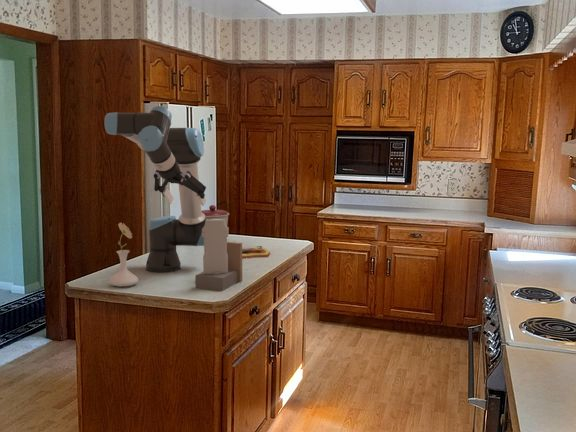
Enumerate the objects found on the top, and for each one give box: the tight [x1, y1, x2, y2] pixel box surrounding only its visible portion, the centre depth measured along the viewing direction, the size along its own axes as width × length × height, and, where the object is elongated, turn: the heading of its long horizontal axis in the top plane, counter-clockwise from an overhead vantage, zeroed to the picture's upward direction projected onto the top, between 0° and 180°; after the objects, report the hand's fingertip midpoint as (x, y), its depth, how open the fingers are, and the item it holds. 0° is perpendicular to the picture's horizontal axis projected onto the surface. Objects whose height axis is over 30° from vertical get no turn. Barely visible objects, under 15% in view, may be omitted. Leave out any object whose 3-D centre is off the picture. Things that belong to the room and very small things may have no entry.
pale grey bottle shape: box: [202, 219, 230, 274], centre depth 237 cm, size 11×4×22 cm, turn 107°
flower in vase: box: [108, 222, 139, 287], centre depth 238 cm, size 13×11×25 cm
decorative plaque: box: [231, 240, 271, 260], centre depth 298 cm, size 30×7×20 cm
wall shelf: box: [195, 241, 243, 291], centre depth 240 cm, size 14×16×16 cm
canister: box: [201, 204, 230, 227], centre depth 325 cm, size 18×18×21 cm
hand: (187, 202), depth 223 cm, fingers open, 13 cm apart
